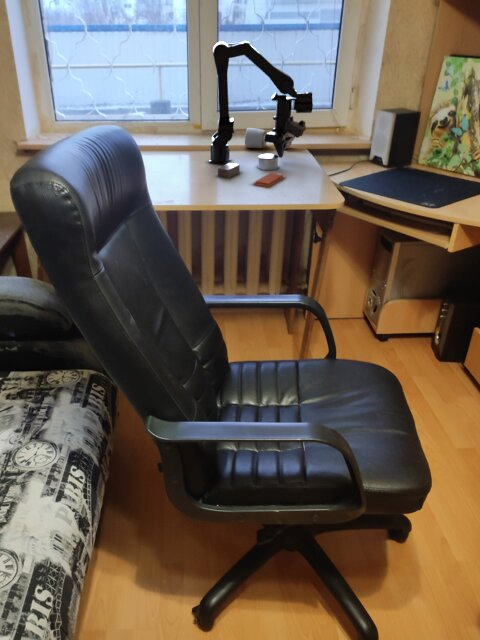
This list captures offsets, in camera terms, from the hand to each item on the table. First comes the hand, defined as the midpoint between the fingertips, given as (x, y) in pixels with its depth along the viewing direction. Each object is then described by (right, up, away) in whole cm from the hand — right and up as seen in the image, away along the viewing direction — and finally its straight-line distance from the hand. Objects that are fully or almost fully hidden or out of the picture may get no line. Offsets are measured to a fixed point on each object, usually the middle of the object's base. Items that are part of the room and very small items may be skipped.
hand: (280, 157), depth 212 cm
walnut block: (-21, -11, -13) cm, 27 cm away
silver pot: (-6, -6, -6) cm, 11 cm away
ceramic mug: (-8, +11, +18) cm, 23 cm away
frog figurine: (+4, +10, +15) cm, 19 cm away
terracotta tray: (-7, -16, -20) cm, 27 cm away
